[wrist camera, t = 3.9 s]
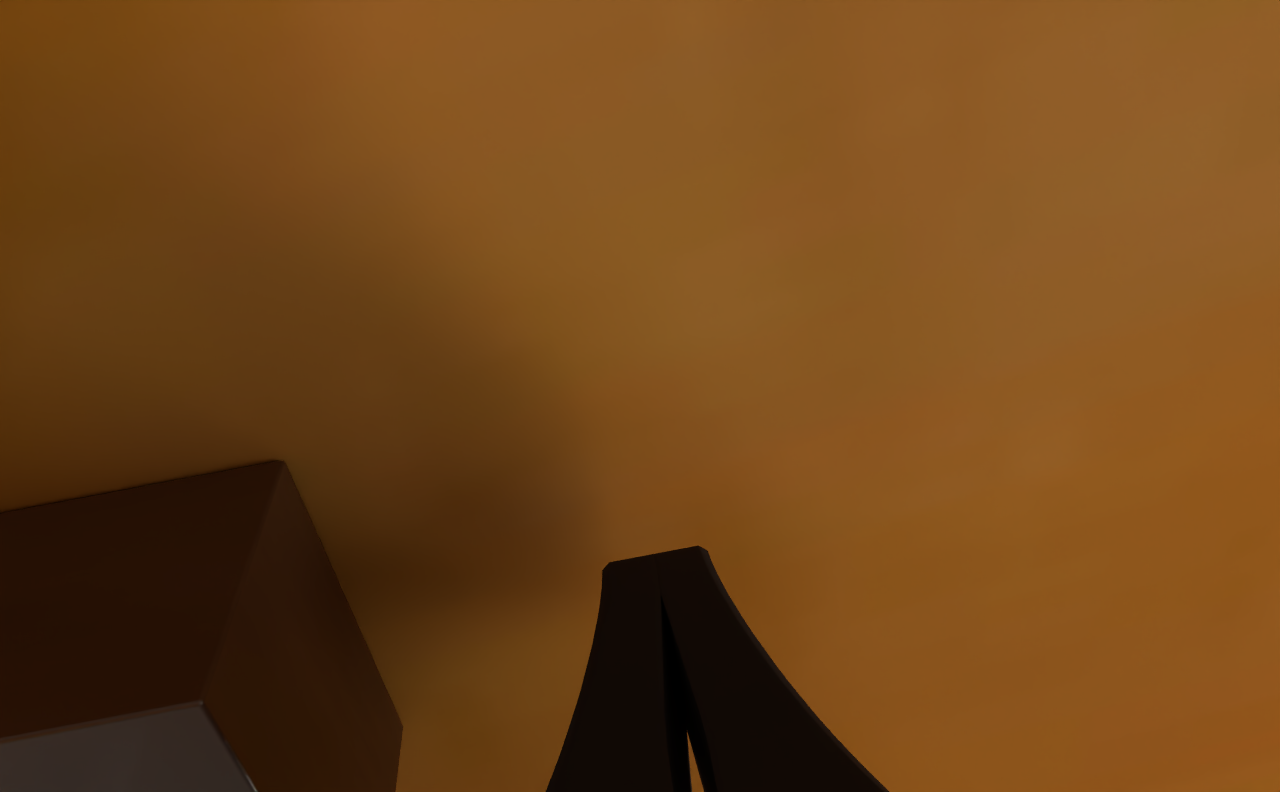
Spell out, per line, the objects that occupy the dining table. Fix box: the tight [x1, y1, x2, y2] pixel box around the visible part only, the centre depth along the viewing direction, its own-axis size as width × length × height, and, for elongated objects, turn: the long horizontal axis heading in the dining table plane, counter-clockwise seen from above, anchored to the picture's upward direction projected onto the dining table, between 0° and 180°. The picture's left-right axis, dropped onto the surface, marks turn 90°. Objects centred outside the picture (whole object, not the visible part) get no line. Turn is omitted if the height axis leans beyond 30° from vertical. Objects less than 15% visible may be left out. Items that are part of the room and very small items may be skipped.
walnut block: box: [0, 461, 403, 792], centre depth 12 cm, size 6×6×4 cm
